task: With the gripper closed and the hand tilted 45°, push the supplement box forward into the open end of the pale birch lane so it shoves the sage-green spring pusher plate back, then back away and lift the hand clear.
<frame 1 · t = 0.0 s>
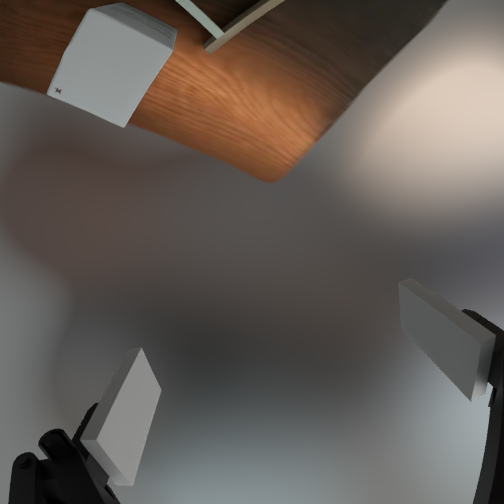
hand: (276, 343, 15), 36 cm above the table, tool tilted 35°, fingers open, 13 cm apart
supplement box: (131, 42, 31), on the table
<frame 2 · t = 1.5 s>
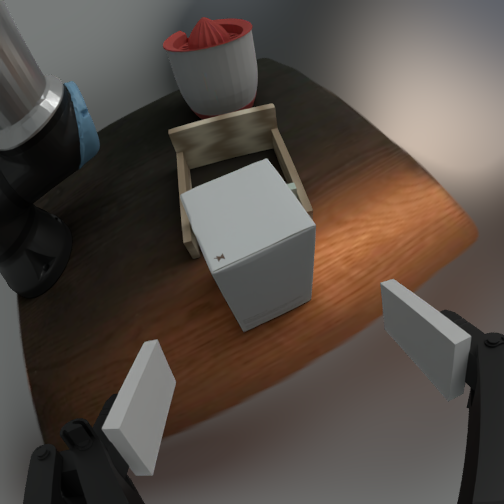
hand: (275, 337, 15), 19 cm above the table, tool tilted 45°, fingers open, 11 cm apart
pusher: (245, 213, 40), point 3 cm above the table, slide at 0.0 cm
citrus juicer: (223, 105, 59), on the table
pusher lane: (241, 198, 45), on the table
supplement box: (263, 286, 38), on the table
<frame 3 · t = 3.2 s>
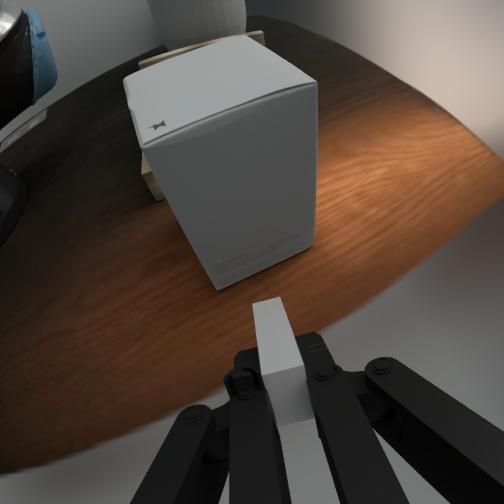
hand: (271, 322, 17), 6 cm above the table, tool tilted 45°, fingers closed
citrus juicer: (208, 53, 48), on the table
pusher lane: (222, 132, 35), on the table
supplement box: (246, 229, 28), on the table
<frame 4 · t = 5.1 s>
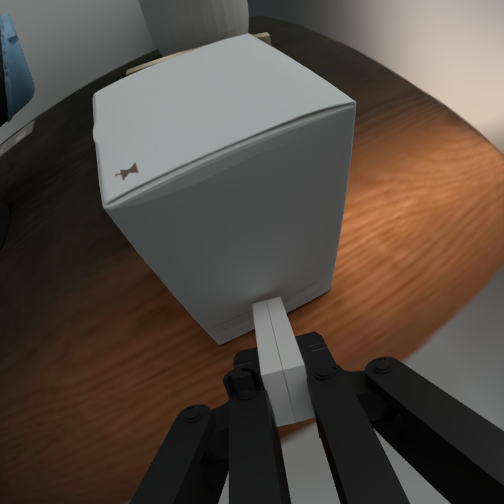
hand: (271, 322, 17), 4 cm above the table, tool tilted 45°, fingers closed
citrus juicer: (207, 58, 44), on the table
pusher lane: (223, 153, 30), on the table
supplement box: (251, 269, 24), on the table, touching gripper
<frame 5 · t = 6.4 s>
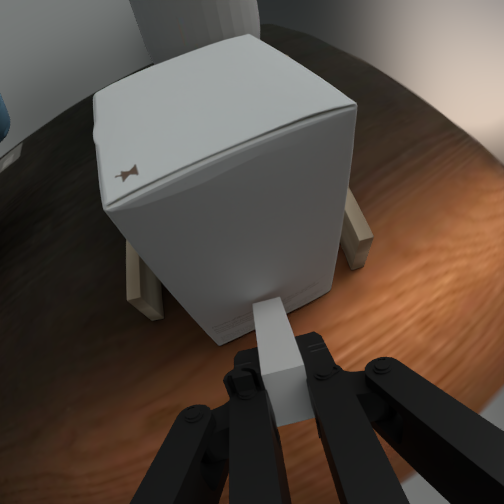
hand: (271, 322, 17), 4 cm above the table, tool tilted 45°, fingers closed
citrus juicer: (211, 75, 40), on the table
pusher lane: (236, 209, 26), on the table
supplement box: (251, 269, 24), on the table, touching gripper
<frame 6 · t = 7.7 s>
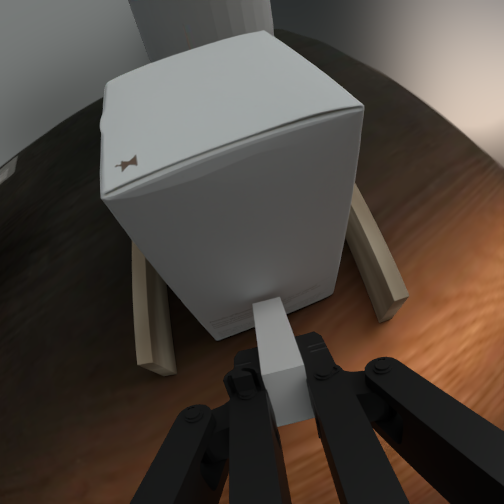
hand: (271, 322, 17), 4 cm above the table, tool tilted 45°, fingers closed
citrus juicer: (219, 86, 38), on the table
pusher lane: (253, 250, 24), on the table
supplement box: (255, 267, 24), on the table, touching gripper, pusher
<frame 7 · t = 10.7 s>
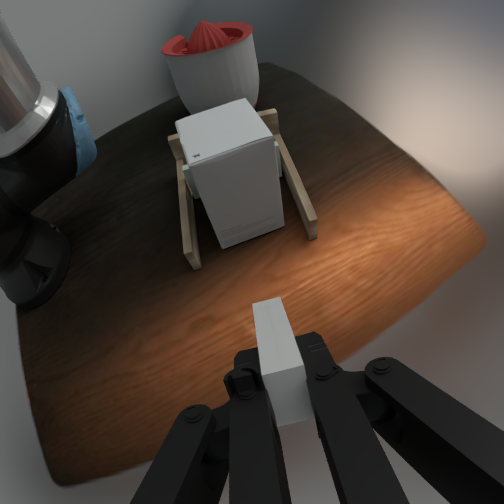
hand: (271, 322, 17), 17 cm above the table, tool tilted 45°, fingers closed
pusher: (233, 170, 44), point 3 cm above the table, slide at 9.6 cm
citrus juicer: (224, 111, 58), on the table
pusher lane: (243, 206, 44), on the table
supplement box: (244, 214, 44), on the table
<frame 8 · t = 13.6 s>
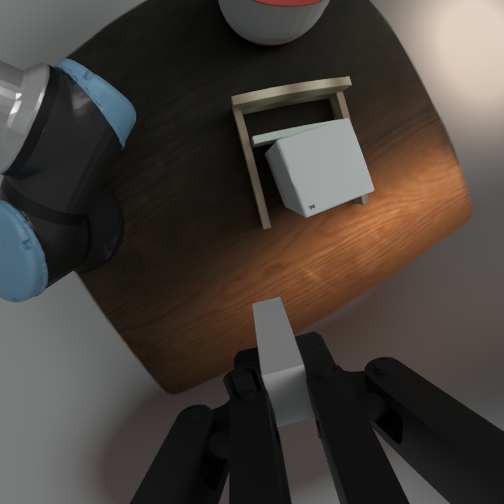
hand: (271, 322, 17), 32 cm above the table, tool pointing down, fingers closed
pusher: (298, 132, 42), point 3 cm above the table, slide at 9.6 cm
citrus juicer: (263, 14, 41), on the table
pusher lane: (300, 161, 46), on the table
supplement box: (301, 169, 47), on the table
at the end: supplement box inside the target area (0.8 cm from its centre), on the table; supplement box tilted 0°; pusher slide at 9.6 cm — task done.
